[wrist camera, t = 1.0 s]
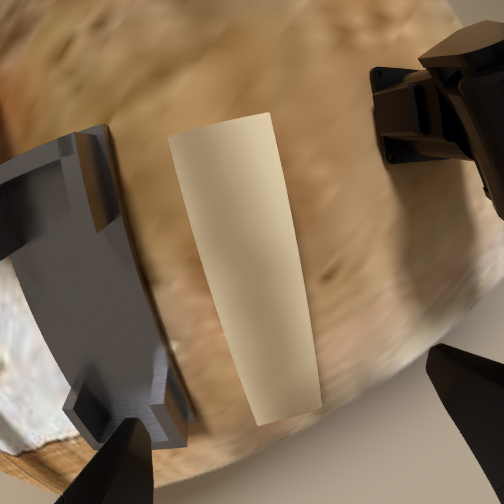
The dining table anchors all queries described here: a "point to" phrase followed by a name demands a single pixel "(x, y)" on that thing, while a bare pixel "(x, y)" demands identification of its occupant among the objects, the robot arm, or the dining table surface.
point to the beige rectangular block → (251, 260)
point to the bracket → (90, 288)
